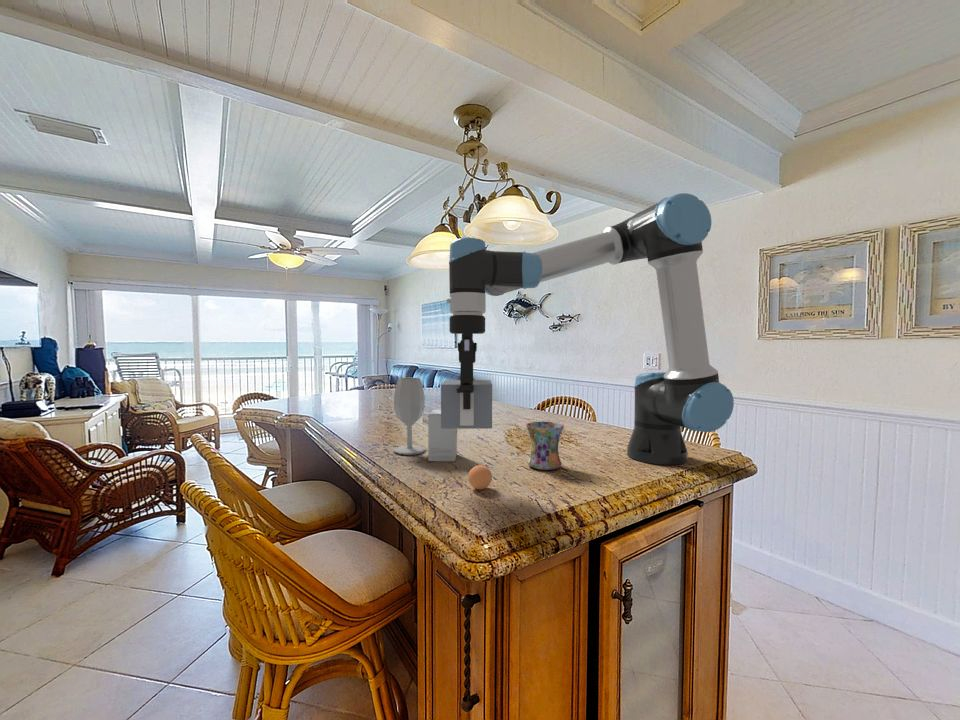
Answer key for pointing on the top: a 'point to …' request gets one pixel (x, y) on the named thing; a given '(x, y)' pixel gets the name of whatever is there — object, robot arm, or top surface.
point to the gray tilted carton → (452, 405)
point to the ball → (480, 477)
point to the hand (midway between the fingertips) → (467, 420)
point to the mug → (544, 444)
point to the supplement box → (440, 439)
